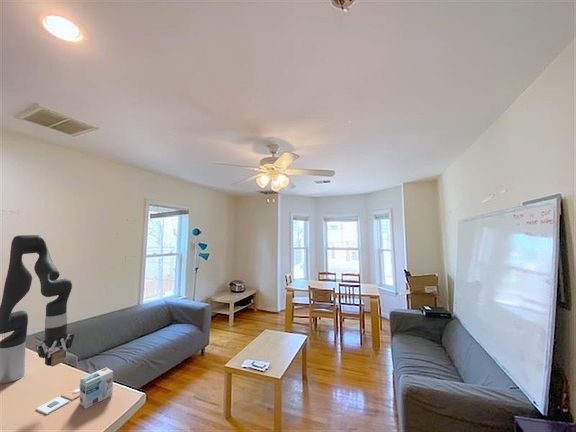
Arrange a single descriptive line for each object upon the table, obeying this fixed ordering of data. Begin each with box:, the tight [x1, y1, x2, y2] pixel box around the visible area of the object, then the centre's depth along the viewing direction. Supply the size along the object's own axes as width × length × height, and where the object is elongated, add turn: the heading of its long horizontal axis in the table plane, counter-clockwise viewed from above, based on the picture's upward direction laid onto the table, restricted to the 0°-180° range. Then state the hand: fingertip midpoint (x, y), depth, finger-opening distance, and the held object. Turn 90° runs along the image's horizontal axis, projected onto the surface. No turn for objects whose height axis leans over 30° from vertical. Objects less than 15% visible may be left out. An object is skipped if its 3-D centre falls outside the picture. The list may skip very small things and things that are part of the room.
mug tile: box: [60, 384, 80, 401], centre depth 117 cm, size 8×8×1 cm
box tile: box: [35, 396, 71, 415], centre depth 109 cm, size 8×8×1 cm
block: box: [49, 348, 66, 367], centre depth 114 cm, size 4×4×5 cm
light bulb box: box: [79, 366, 114, 409], centre depth 113 cm, size 11×7×11 cm, turn 148°
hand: (55, 362), depth 114 cm, fingers closed on block, 4 cm apart
